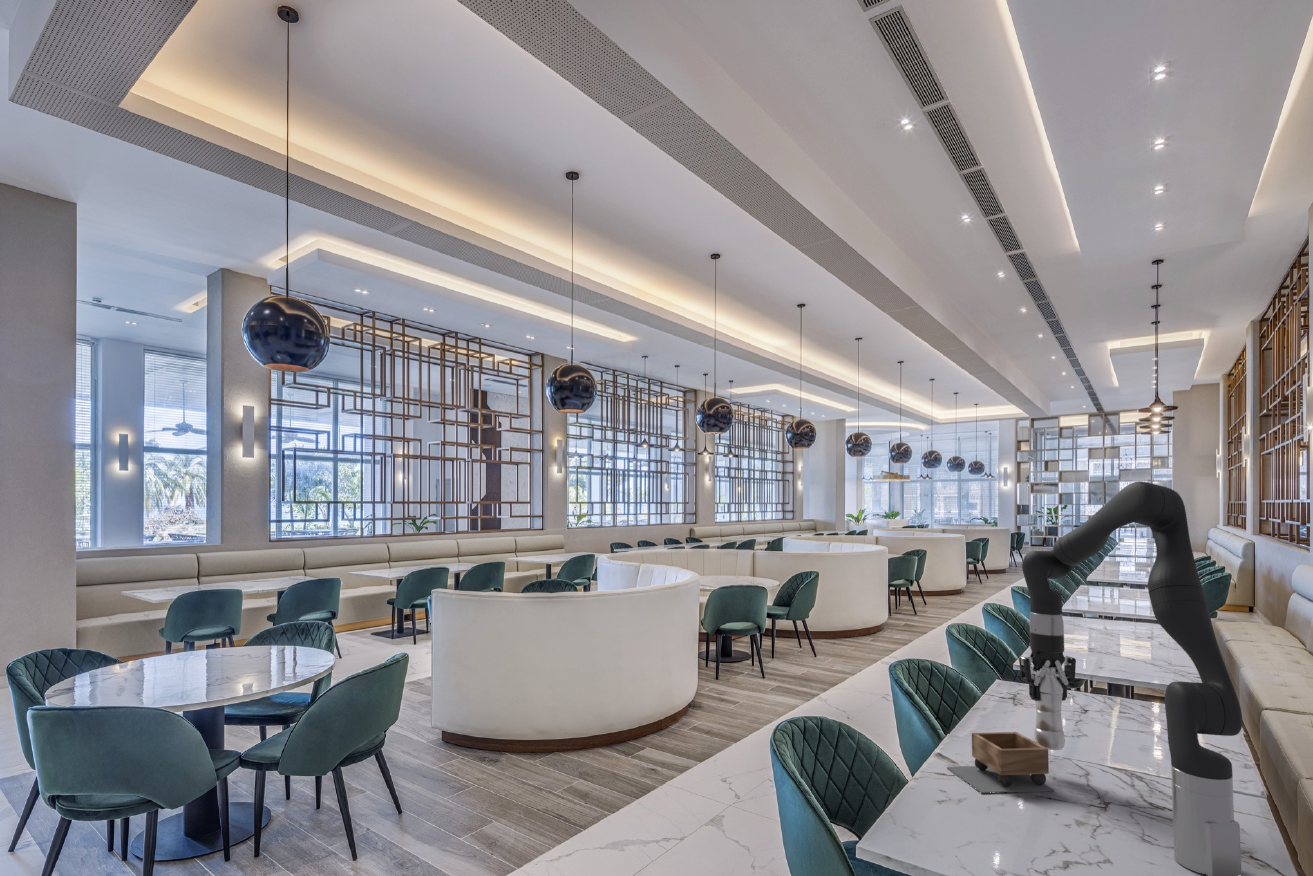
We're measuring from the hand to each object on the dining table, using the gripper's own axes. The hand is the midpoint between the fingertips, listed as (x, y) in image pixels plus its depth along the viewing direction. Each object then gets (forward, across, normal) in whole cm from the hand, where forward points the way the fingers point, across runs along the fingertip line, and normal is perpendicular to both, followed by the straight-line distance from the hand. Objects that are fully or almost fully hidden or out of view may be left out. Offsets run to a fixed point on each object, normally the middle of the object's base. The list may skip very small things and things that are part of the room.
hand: (1048, 699), depth 177 cm
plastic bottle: (+12, 0, 0) cm, 12 cm away
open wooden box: (+18, -12, -2) cm, 22 cm away
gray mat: (+18, -15, -2) cm, 23 cm away
